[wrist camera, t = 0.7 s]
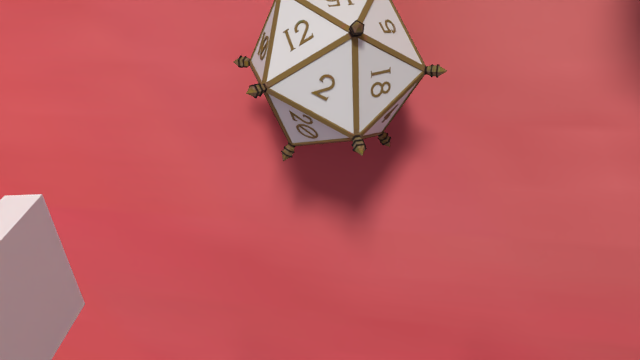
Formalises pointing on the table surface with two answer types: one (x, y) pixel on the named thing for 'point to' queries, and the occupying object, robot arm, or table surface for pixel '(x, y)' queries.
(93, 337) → the table surface
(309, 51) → the game die
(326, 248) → the table surface
